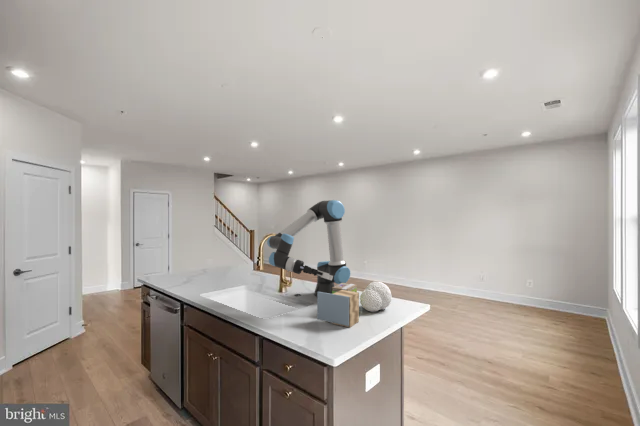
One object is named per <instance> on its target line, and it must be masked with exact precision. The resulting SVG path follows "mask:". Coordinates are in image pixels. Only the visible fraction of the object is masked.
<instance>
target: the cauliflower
mask: <svg viewBox="0 0 640 426" xmlns="http://www.w3.org/2000/svg"><path fill="white" fill-rule="evenodd" d="M392 297H393V296H392V292H391V289H390V288H389V286H388V285H387V284H385V283H383V282H381V281H372V282H370V283H369V284H368V285H367V286H366V287H365V289H363V291H362V292H361V294H360V295H359V304H360V305H361V307H362V308H363V309H364V310H366V311H368V312H373V313H374V312H377V311H379V310H380V311H381V310H384V309H386V308H388V307H389V306H390V304H391V302H392Z"/></svg>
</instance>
